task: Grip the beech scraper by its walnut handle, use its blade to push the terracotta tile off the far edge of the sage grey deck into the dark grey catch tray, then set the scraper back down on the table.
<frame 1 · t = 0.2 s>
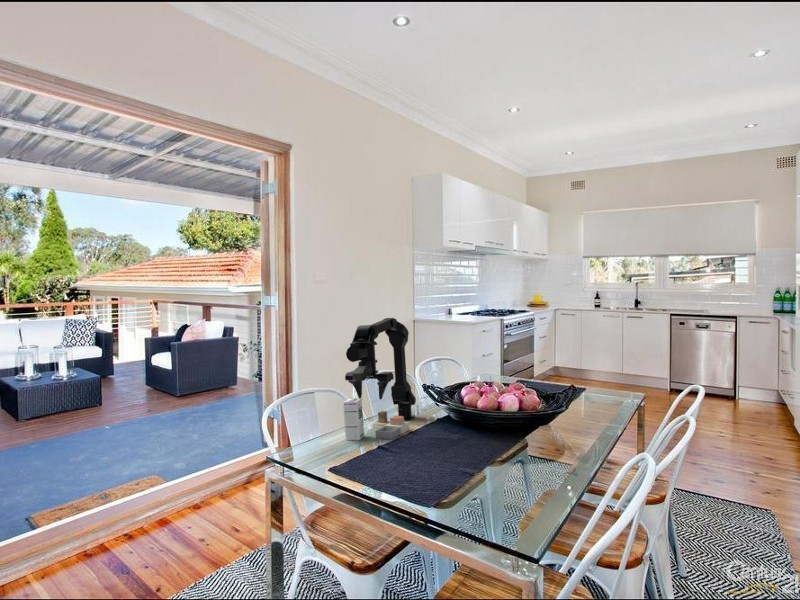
hand: (370, 398, 183), 14 cm above the table, tool pointing down, fingers open, 9 cm apart
tile: (397, 423, 187), point 3 cm above the table, touching deck
deck: (397, 431, 186), on the table
scraper: (383, 426, 196), on the table
syrup box: (354, 438, 181), on the table
catch tray: (388, 436, 180), on the table
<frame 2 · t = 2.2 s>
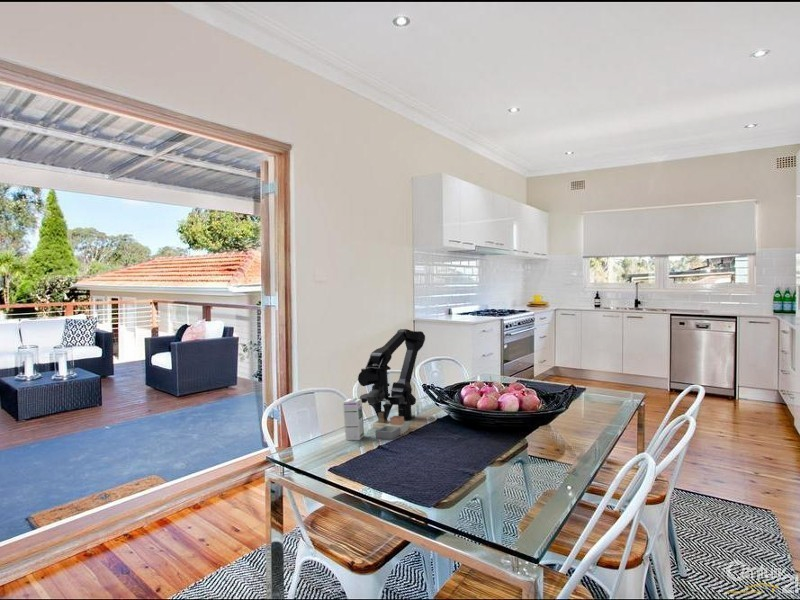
hand: (382, 420, 196), 3 cm above the table, tool pointing down, fingers closed on scraper, 3 cm apart
scraper: (383, 426, 196), on the table, touching gripper
everything else where it was.
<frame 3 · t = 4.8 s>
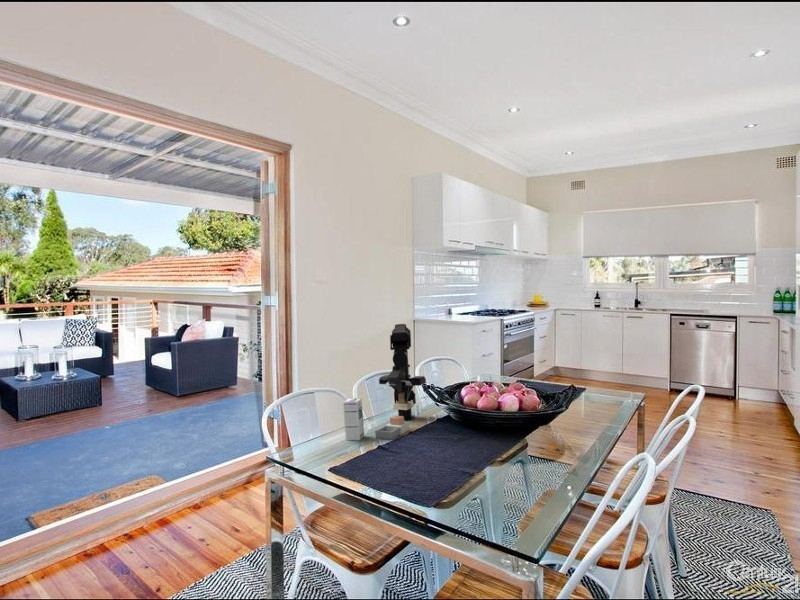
hand: (403, 401, 192), 10 cm above the table, tool pointing down, fingers closed on scraper, 2 cm apart
scraper: (403, 407, 192), point 8 cm above the table, touching gripper
everything else where it was.
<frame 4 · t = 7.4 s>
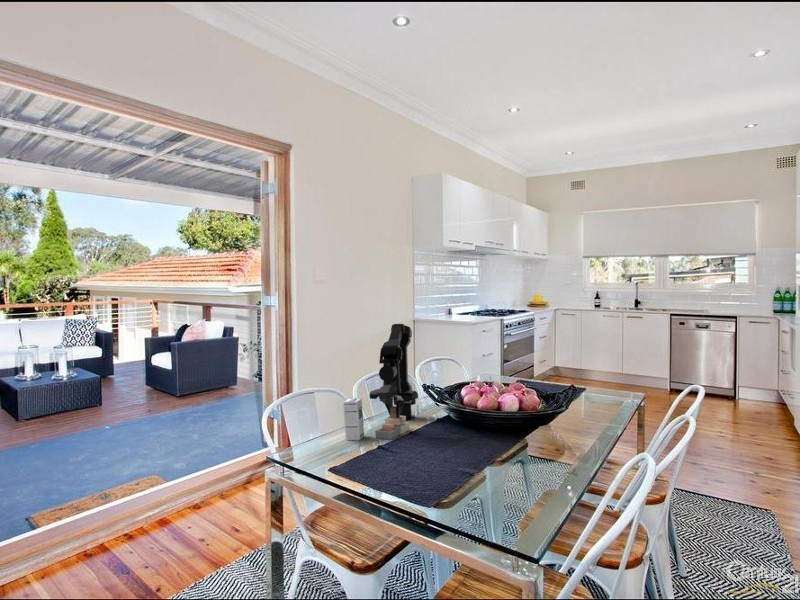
hand: (394, 417, 185), 6 cm above the table, tool pointing down, fingers closed on scraper, 2 cm apart
tile: (390, 428, 182), point 2 cm above the table, tilted 90°, touching catch tray
scraper: (395, 422, 185), point 4 cm above the table, touching gripper
everything else where it was.
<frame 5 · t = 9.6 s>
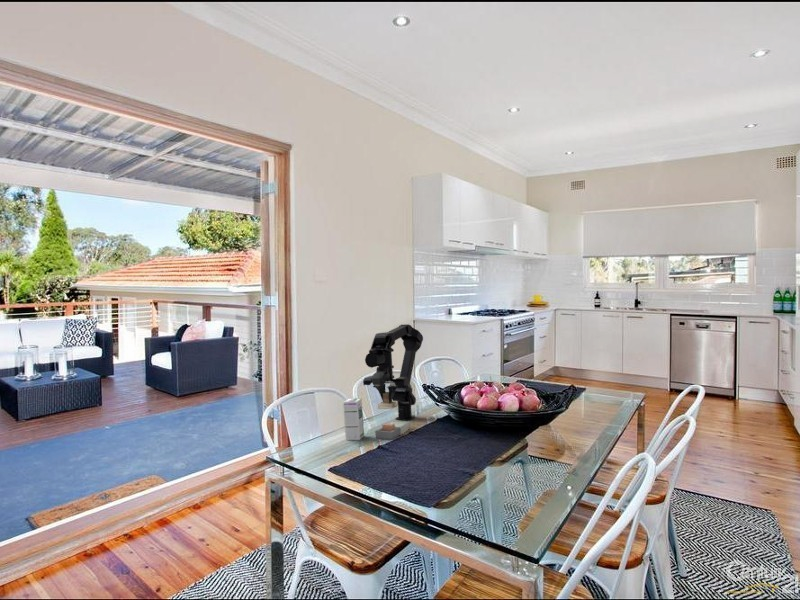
hand: (387, 402, 194), 10 cm above the table, tool pointing down, fingers closed on scraper, 2 cm apart
scraper: (388, 407, 195), point 8 cm above the table, touching gripper
everything else where it was.
when the fingers open (4 cm above the table, at t = 11.2 s): scraper drops 2 cm, on the table.
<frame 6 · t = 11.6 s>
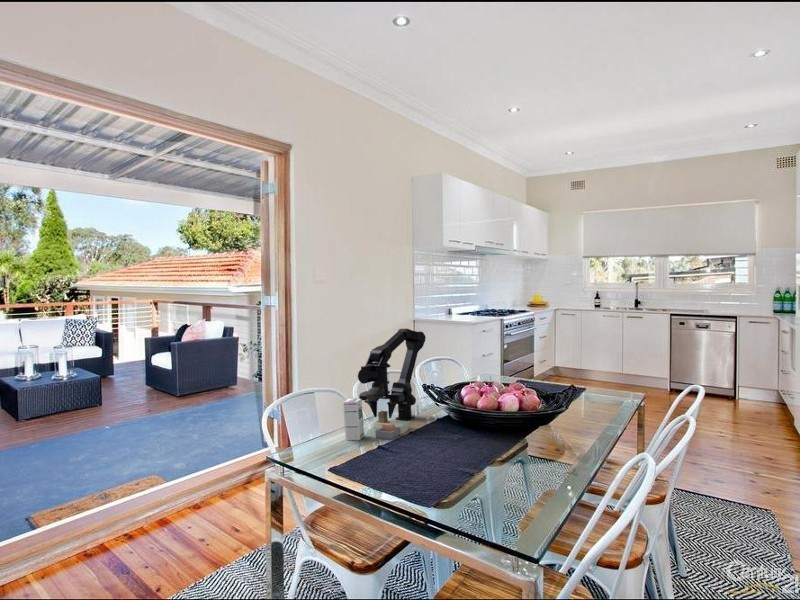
hand: (382, 417, 196), 4 cm above the table, tool pointing down, fingers open, 7 cm apart
scraper: (383, 426, 196), on the table
everything else where it was.
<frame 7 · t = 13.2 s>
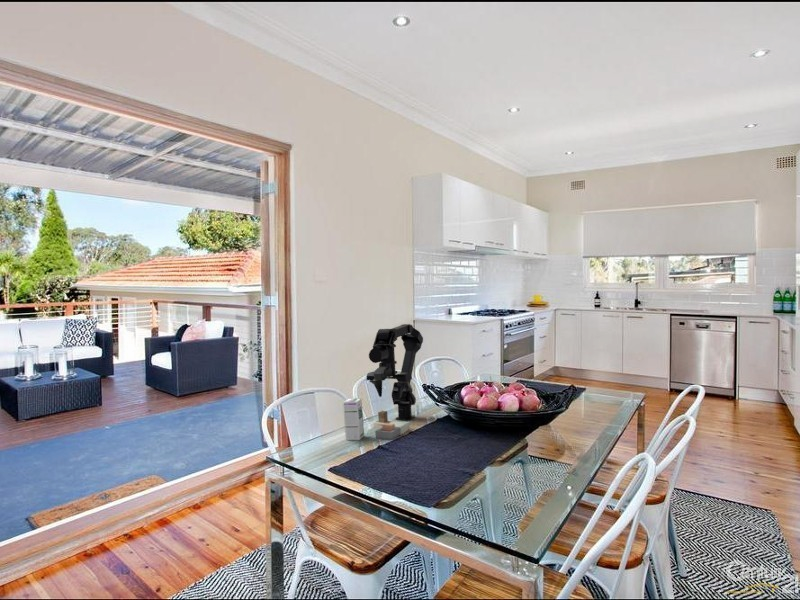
hand: (390, 397, 195), 12 cm above the table, tool pointing down, fingers open, 9 cm apart
nothing on the table moved.
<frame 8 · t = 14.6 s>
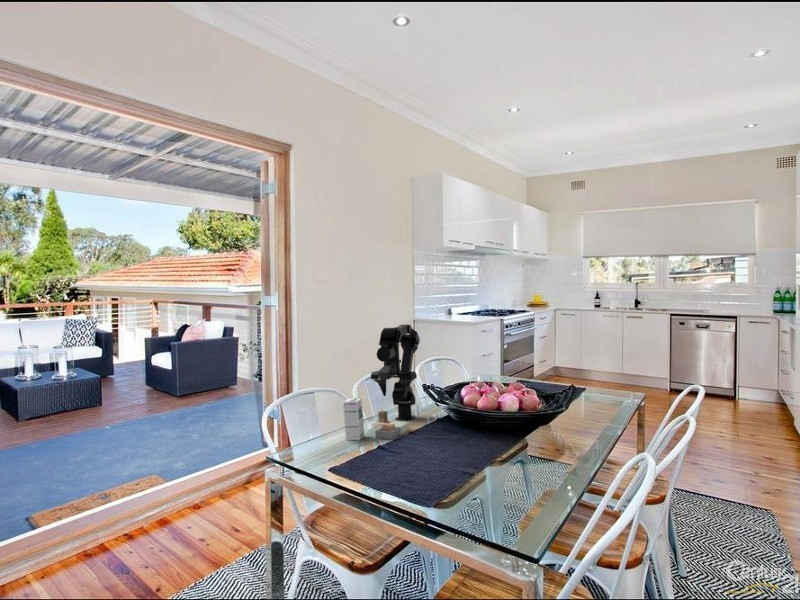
hand: (394, 396, 195), 12 cm above the table, tool pointing down, fingers open, 9 cm apart
nothing on the table moved.
at the end: tile inside the target area (1.8 cm from its centre), point 2.5 cm above the table; the gripper is holding nothing; scraper inside the target area (0.4 cm from its centre), on the table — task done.
